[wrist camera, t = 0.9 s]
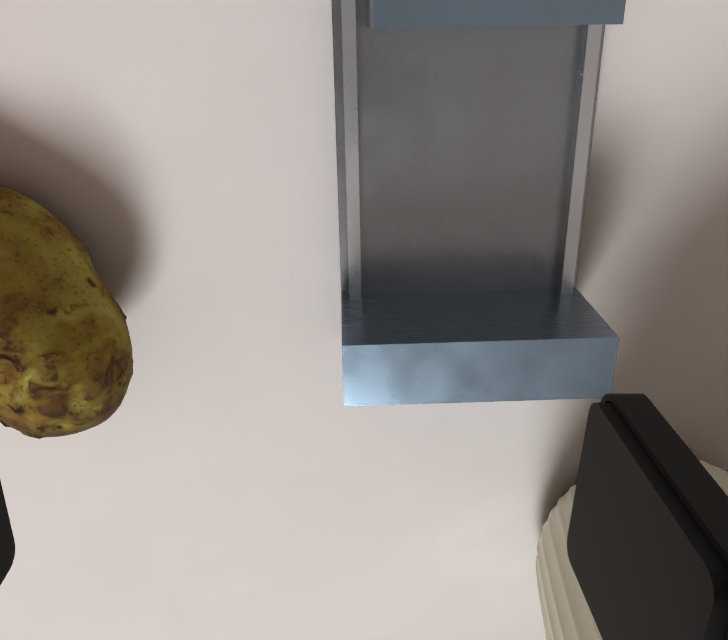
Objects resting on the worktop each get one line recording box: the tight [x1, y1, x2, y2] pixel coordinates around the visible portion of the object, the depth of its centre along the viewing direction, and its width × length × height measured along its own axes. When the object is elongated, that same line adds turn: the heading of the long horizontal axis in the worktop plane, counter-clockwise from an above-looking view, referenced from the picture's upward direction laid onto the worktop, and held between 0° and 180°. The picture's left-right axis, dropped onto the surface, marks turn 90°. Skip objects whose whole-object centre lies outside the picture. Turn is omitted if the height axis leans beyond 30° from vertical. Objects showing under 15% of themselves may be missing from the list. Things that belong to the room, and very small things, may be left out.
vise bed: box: [332, 0, 619, 406], centre depth 30 cm, size 21×12×8 cm, turn 1°
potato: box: [0, 185, 133, 439], centre depth 32 cm, size 8×13×8 cm, turn 18°
